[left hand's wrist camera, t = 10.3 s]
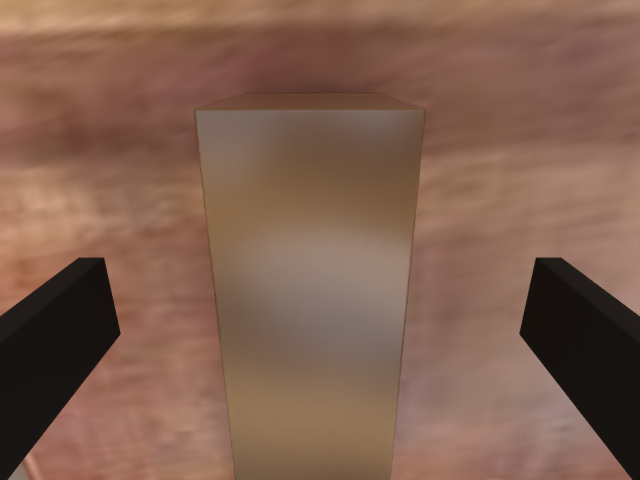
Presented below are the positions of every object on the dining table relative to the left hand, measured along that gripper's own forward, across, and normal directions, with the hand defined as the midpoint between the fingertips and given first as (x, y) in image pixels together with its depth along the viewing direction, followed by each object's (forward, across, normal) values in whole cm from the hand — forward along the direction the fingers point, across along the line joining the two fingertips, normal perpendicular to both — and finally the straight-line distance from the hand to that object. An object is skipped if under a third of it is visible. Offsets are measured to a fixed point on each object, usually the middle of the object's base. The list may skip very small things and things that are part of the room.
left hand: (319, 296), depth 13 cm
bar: (+6, 0, -30) cm, 30 cm away
